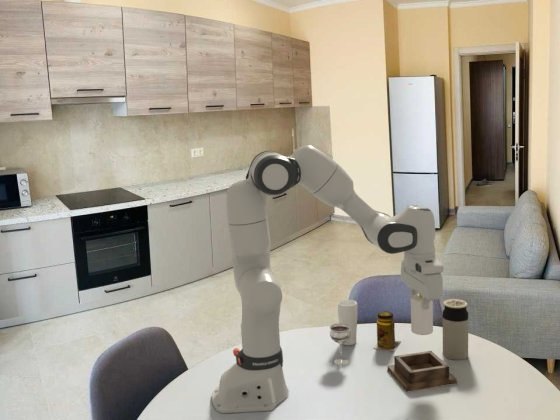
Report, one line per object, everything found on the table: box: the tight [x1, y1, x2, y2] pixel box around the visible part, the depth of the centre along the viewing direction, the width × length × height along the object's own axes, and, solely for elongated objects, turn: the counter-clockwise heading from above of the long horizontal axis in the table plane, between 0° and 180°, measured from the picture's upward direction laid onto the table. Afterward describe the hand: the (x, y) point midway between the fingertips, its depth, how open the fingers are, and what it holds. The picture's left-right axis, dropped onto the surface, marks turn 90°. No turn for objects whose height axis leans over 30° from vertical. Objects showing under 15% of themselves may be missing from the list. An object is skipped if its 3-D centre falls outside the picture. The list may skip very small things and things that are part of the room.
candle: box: [410, 293, 434, 336], centre depth 160 cm, size 6×6×15 cm
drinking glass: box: [337, 299, 358, 346], centre depth 190 cm, size 7×7×15 cm
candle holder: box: [386, 350, 458, 392], centre depth 164 cm, size 16×14×5 cm
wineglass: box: [329, 322, 351, 366], centre depth 176 cm, size 7×7×12 cm
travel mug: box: [442, 298, 469, 361], centre depth 176 cm, size 8×8×18 cm
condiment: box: [373, 310, 401, 352], centre depth 186 cm, size 7×8×12 cm
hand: (420, 305), depth 160 cm, fingers closed on candle, 5 cm apart
